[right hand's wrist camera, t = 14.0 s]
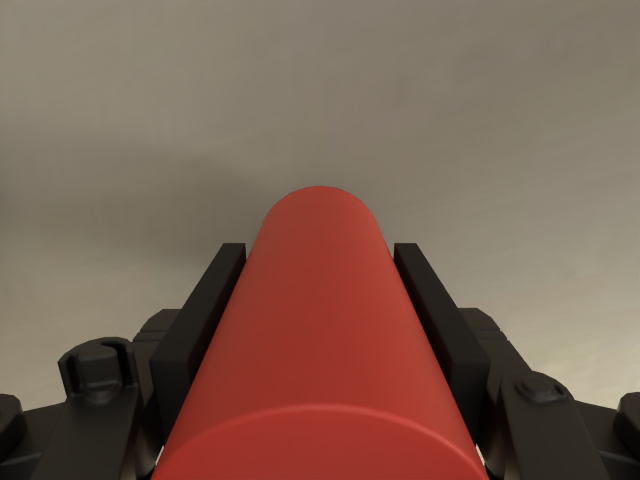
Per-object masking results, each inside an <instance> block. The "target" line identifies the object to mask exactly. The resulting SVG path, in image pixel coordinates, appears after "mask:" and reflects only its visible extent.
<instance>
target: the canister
mask: <svg viewBox="0 0 640 480" xmlns="http://www.w3.org/2000/svg"><path fill="white" fill-rule="evenodd" d="M150 480H489V477H488V475H487V473H486V470H485V468H484V466H483V464H482V461H481V459H480V457H479V455H478V452H477V450H476V448H475V445H474V443H473V441H472V439H471V436H470V434H469V432H468V429H467V427H466V425H465V423H464V420H463V418H462V416H461V414H460V411H459V409H458V407H457V404H456V402H455V400H454V398H453V395H452V393H451V391H450V388H449V386H448V384H447V382H446V379H445V377H444V375H443V373H442V370H441V368H440V366H439V363H438V361H437V359H436V357H435V354H434V352H433V350H432V347H431V345H430V343H429V341H428V338H427V336H426V334H425V332H424V329H423V327H422V325H421V322H420V320H419V318H418V316H417V313H416V311H415V309H414V306H413V304H412V302H411V300H410V297H409V295H408V293H407V291H406V288H405V286H404V284H403V281H402V279H401V277H400V275H399V272H398V270H397V268H396V266H395V263H394V261H393V259H392V256H391V254H390V252H389V250H388V247H387V245H386V243H385V240H384V238H383V236H382V234H381V231H380V229H379V227H378V225H377V222H376V220H375V218H374V216H373V215H372V213H371V212H370V210H369V209H368V208H367V207H366V206H365V205H364V204H363V202H361V201H360V200H359V199H358V198H356V197H355V196H353V195H351V194H350V193H348V192H345V191H343V190H340V189H337V188H333V187H326V186H315V187H307V188H303V189H300V190H297V191H295V192H292V193H290V194H289V195H287V196H285V197H284V198H282V199H281V200H280V201H279V202H278V203H277V204H276V205H275V206H273V208H272V209H271V210H270V212H269V213H268V215H267V216H266V218H265V220H264V222H263V225H262V227H261V229H260V231H259V234H258V236H257V238H256V240H255V243H254V245H253V247H252V249H251V252H250V254H249V256H248V259H247V261H246V263H245V265H244V268H243V270H242V272H241V274H240V277H239V279H238V281H237V284H236V286H235V288H234V290H233V293H232V295H231V297H230V299H229V302H228V304H227V306H226V309H225V311H224V313H223V315H222V318H221V320H220V322H219V324H218V327H217V329H216V331H215V334H214V336H213V338H212V340H211V343H210V345H209V347H208V349H207V352H206V354H205V356H204V358H203V361H202V363H201V365H200V368H199V370H198V372H197V374H196V377H195V379H194V381H193V383H192V386H191V388H190V390H189V393H188V395H187V397H186V399H185V402H184V404H183V406H182V408H181V411H180V413H179V415H178V418H177V420H176V422H175V424H174V427H173V429H172V431H171V433H170V436H169V438H168V440H167V442H166V445H165V447H164V449H163V452H162V454H161V456H160V458H159V461H158V463H157V465H156V467H155V470H154V472H153V474H152V477H151V479H150Z"/></svg>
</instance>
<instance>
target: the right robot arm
mask: <svg viewBox="0 0 640 480" xmlns="http://www.w3.org/2000/svg"><path fill="white" fill-rule="evenodd" d="M393 261H394V263H395V266H396V268H397V270H398V272H399V275H400V277H401V279H402V281H403V284H404V286H405V288H406V291H407V293H408V295H409V297H410V300H411V302H412V304H413V306H414V309H415V311H416V313H417V316H418V318H419V320H420V322H421V325H422V327H423V329H424V332H425V334H426V336H427V338H428V341H429V343H430V345H431V347H432V350H433V352H434V354H435V357H436V359H437V361H438V363H439V366H440V368H441V370H442V373H443V375H444V377H445V379H446V382H447V384H448V386H449V388H450V391H451V393H452V395H453V398H454V400H455V402H456V404H457V407H458V409H459V411H460V414H461V416H462V418H463V420H464V423H465V425H466V427H467V429H468V432H469V434H470V436H471V439H472V441H473V443H474V445H475V448H476V443H477V445H478V447H479V449H480V452H481V454H482V456H483V458H484V461H485V463H484V468H485V470H486V473H487V475H488V477H489V480H640V392H634V393H627V394H626V395H624V396H623V397H622V398H621V399H620V402H619V405H618V408H617V410H616V409H611V408H606V407H602V406H597V405H592V404H588V403H583V402H580V401H576V400H574V398H573V396H572V395H571V393H570V392H569V391H568V389H567V388H566V387H565V386H564V385H562V384H561V383H560V382H558V381H557V380H556V379H553V378H551V377H549V376H547V375H545V374H543V373H540V372H536V371H532V370H531V369H530V367H529V366H528V365H527V363H526V362H525V361H524V360H523V358H522V357H521V356H520V354H519V353H518V352H517V350H516V349H515V348H514V346H513V345H512V344H511V343H510V341H507V337H506V336H505V335H504V333H503V332H502V331H500V328H499V327H498V326H497V324H496V323H495V322H494V320H493V319H492V318H491V317H490V316H488V315H487V314H485V313H484V312H482V311H481V310H479V309H478V308H457V306H456V305H455V303H454V302H453V300H452V298H451V297H450V295H449V294H448V292H447V291H446V289H445V288H444V286H443V284H442V283H441V281H440V280H439V278H438V277H437V275H436V273H435V272H434V270H433V269H432V267H431V266H430V264H429V263H428V261H427V259H426V258H425V256H424V255H423V253H422V252H421V250H420V249H419V247H418V245H417V244H416V243H395V244H394V259H393ZM245 263H246V248H245V243H224V244H223V245H222V247H221V248H220V250H219V251H218V253H217V254H216V256H215V258H214V259H213V261H212V262H211V264H210V265H209V267H208V268H207V270H206V272H205V273H204V275H203V276H202V278H201V279H200V281H199V282H198V284H197V286H196V287H195V289H194V290H193V292H192V293H191V295H190V296H189V298H188V300H187V301H186V303H185V304H184V306H183V307H182V309H163V310H161V311H160V312H158V313H157V314H155V315H154V316H152V317H151V318H149V319H148V320H147V322H146V323H145V324H144V326H143V327H142V328H141V330H140V332H138V333H137V335H136V336H135V337H134V339H133V342H130V341H128V340H127V339H124V338H120V337H103V338H99V339H94V340H90V341H87V342H85V343H83V344H80V345H78V346H76V347H74V348H73V349H71V350H70V351H68V352H66V353H65V354H64V355H63V356H62V357H61V358H60V360H59V361H58V362H57V363H58V366H59V370H60V374H61V377H62V381H63V385H64V388H65V392H66V395H67V398H66V401H65V402H63V403H59V404H56V405H51V406H46V407H42V408H37V409H33V410H28V411H23V409H22V406H21V403H20V400H19V399H17V398H16V397H15V396H14V395H8V394H0V480H150V479H151V477H152V474H153V472H154V470H155V467H156V463H155V462H156V460H157V458H158V455H159V453H160V451H161V449H162V446H163V445H164V447H165V445H166V442H167V440H168V438H169V436H170V433H171V431H172V429H173V427H174V424H175V422H176V420H177V418H178V415H179V413H180V411H181V408H182V406H183V404H184V402H185V399H186V397H187V395H188V393H189V390H190V388H191V386H192V383H193V381H194V379H195V377H196V374H197V372H198V370H199V368H200V365H201V363H202V361H203V358H204V356H205V354H206V352H207V349H208V347H209V345H210V343H211V340H212V338H213V336H214V334H215V331H216V329H217V327H218V324H219V322H220V320H221V318H222V315H223V313H224V311H225V309H226V306H227V304H228V302H229V299H230V297H231V295H232V293H233V290H234V288H235V286H236V284H237V281H238V279H239V277H240V274H241V272H242V270H243V268H244V265H245Z"/></svg>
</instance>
